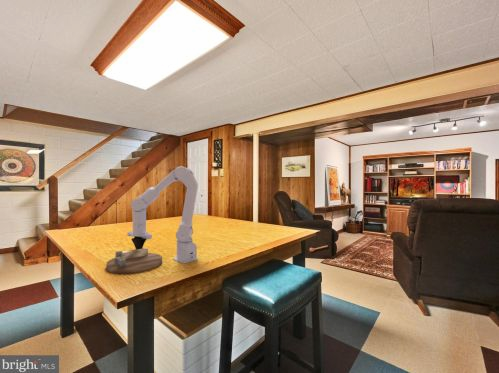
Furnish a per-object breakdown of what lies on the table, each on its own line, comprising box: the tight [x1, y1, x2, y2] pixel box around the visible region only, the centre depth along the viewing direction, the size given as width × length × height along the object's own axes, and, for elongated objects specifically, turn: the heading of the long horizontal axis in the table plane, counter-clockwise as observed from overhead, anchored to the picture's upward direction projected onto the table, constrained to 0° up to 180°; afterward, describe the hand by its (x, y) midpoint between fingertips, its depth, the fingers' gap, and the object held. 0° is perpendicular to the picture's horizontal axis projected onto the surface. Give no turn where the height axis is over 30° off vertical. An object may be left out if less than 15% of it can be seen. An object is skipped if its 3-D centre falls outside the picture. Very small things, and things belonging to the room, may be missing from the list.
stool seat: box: [105, 252, 163, 275], centre depth 103 cm, size 22×22×5 cm
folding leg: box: [114, 247, 149, 259], centre depth 106 cm, size 13×3×4 cm, turn 133°
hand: (139, 252), depth 111 cm, fingers closed
